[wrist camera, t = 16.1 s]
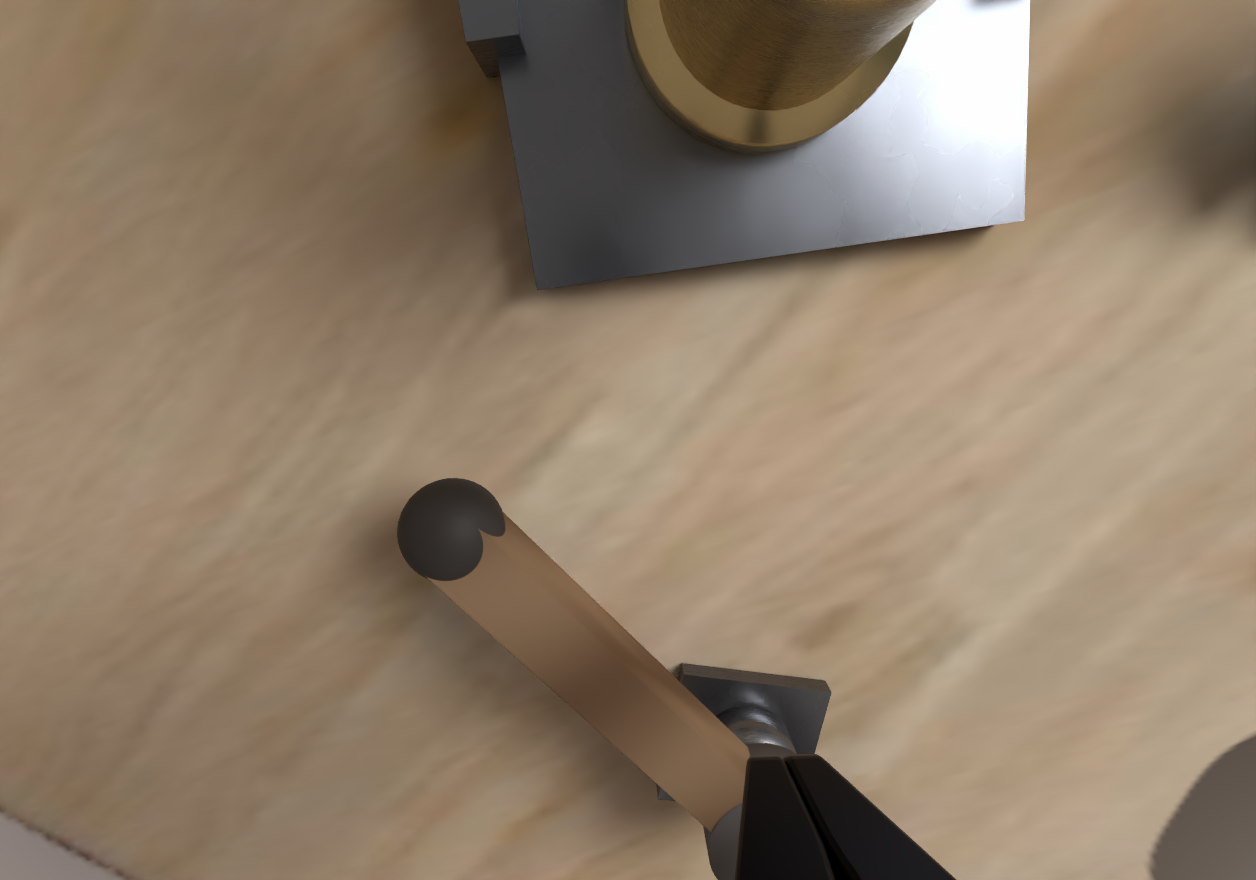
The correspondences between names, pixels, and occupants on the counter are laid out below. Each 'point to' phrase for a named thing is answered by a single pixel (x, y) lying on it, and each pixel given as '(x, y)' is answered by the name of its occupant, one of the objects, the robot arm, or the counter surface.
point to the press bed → (748, 183)
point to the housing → (765, 64)
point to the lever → (580, 654)
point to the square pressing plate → (760, 706)
